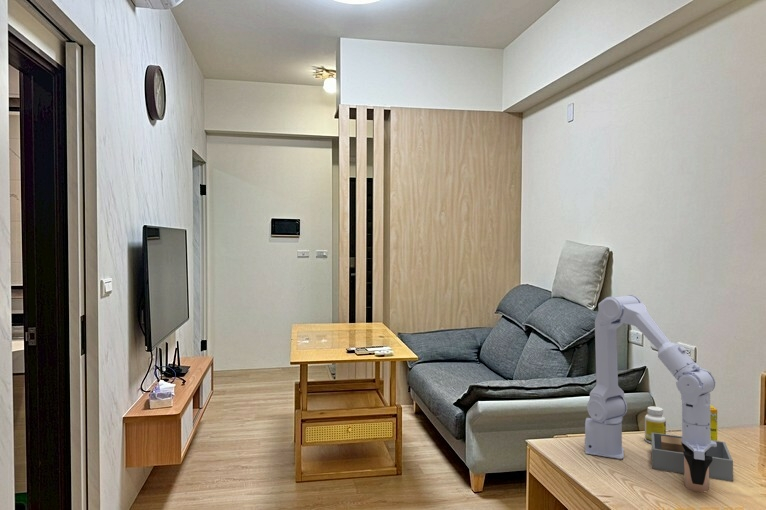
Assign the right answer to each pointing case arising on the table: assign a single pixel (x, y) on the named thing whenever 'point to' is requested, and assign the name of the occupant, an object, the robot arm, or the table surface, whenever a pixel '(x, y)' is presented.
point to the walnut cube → (671, 444)
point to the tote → (675, 460)
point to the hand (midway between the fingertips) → (696, 478)
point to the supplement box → (713, 423)
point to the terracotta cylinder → (688, 479)
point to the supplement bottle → (654, 422)
